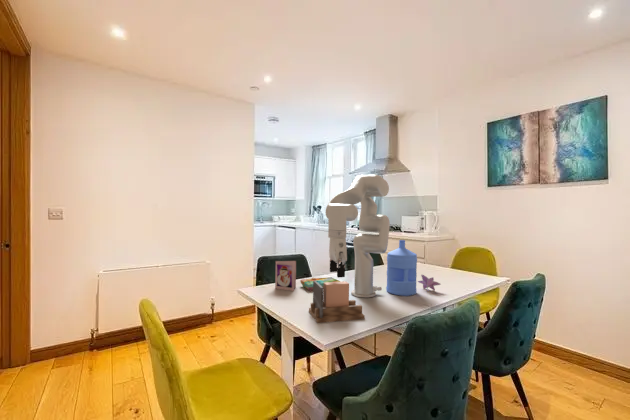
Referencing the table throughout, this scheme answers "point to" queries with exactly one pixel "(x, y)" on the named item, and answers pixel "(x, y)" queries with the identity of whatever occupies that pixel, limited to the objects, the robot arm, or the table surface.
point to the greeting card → (285, 275)
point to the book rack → (332, 308)
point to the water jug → (401, 271)
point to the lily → (428, 282)
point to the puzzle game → (309, 282)
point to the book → (335, 294)
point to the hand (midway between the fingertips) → (337, 274)
